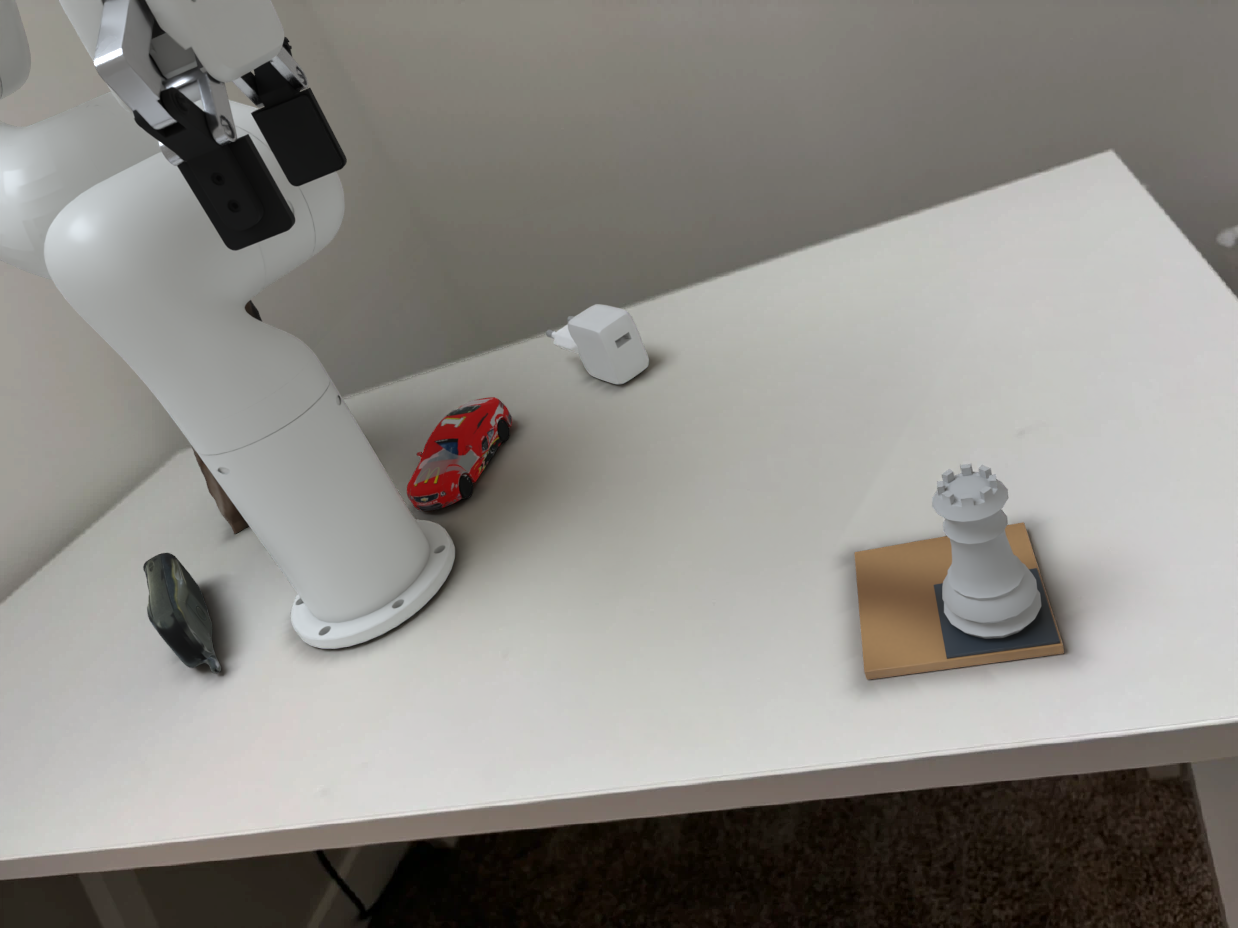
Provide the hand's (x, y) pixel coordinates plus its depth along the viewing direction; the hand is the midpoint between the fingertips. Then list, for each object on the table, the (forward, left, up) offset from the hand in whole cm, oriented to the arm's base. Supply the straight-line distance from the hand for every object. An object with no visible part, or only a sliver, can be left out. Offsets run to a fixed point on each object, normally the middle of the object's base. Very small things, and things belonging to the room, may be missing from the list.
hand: (295, 204), depth 45 cm
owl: (-41, -5, -28) cm, 50 cm away
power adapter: (-24, +23, -28) cm, 44 cm away
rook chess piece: (+23, +15, -28) cm, 39 cm away
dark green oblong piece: (-25, -17, -28) cm, 42 cm away
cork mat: (+20, +15, -28) cm, 38 cm away
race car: (-23, +7, -28) cm, 37 cm away
